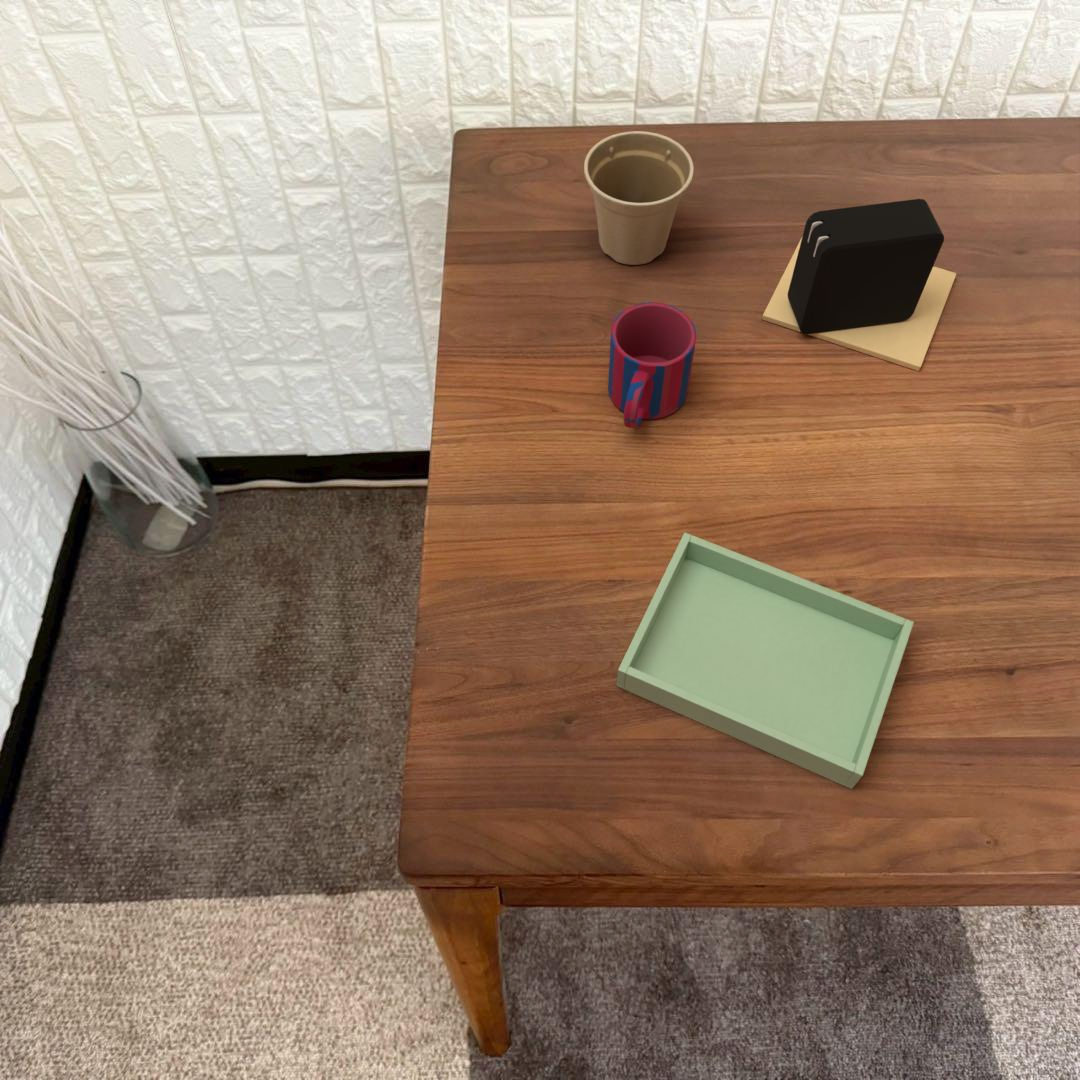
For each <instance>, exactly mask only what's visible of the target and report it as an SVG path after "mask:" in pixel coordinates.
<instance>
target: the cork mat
mask: <svg viewBox="0 0 1080 1080" xmlns="http://www.w3.org/2000/svg"><path fill="white" fill-rule="evenodd" d="M802 237H803V235H802V236H801V238H800V240H799V241H798V244H797V246H796V248H795V250H794V252H793V254H792V256H791V257H790V260H789V262H788V264H787V265H786V268H785V270H784V272H783V273H782V276H781V278H780V280H779V282H778V283H777V286H776V288H775V290H774V292H773V294H772V295H771V298H770V300H769V301H768V304H767V306H766V307H765V310H764V311H763V314H762V317H761V320H763V321H765V322H768V323H770V324H771V323H772V324H774V325H776V326H781V327H783V328H787V329H789V330H792V331H796V332H798V333H801V334H803V333H802V332H800V329H799V326H798V324H797V321H796V318H795V316H794V313H793V310H792V308H791V305H790V302H789V300H788V290H789V287H790V283H791V279H792V275H793V271H794V267H795V263H796V260H797V256H798V252H799V248H800V244H801V240H802ZM956 277H957V272H953V271H950V270H947V269H944V268H940V267H937V266H933V268H932V270H931V273H930V275H929V278H928V280H927V282H926V285H925V287H924V290H923V292H922V294H921V297H920V299H919V302H918V304H917V306H916V309H915V311H914V313H913V315H912V316H911V317H910V318H909V319H907V320H906V321H903V322H899V323H891V324H883V325H876V326H868V327H860V328H853V329H845V330H837V331H830V332H822V333H814V334H806V335H808V336H811V337H813V338H817V339H820V340H823V341H825V342H829V343H831V344H835V345H838V346H840V347H844V348H846V349H850V350H853V351H857V352H859V353H862V354H864V355H868V356H871V357H873V358H877V359H880V360H883V361H886V362H889V363H892V364H895V365H899V366H902V367H905V368H906V369H907V368H908V369H910V370H914V371H917V372H919V371H920V370H921V368H922V366H923V364H924V360H925V358H926V355H927V353H928V349H929V347H930V344H931V342H932V340H933V337H934V334H935V333H936V329H937V326H938V324H939V321H940V319H941V316H942V313H943V310H944V308H945V306H946V302H947V301H948V299H949V296H950V293H951V291H952V287H953V284H954V283H955V279H956Z"/></svg>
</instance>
